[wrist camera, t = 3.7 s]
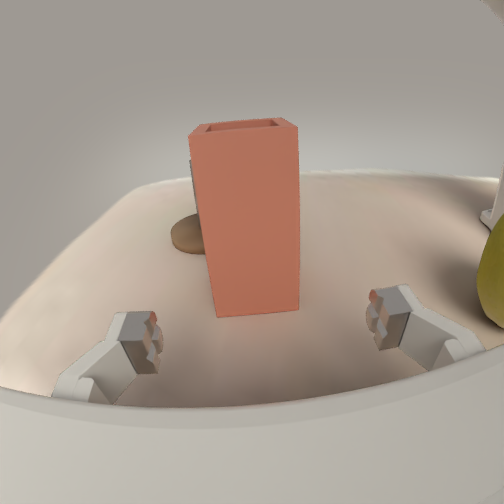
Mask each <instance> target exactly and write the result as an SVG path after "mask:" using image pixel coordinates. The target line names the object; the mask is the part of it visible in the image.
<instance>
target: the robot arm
mask: <svg viewBox="0 0 504 504" xmlns="http://www.w3.org/2000/svg"><path fill="white" fill-rule="evenodd" d="M480 1H482V2H483V3H484V4H485V5H486V6H488V7H489V8H490V9H491V10H492V11H493V12H494V14H495V15H496V16H497V17H498V18H499V19H500V21H501V22H502V24H503V25H504V0H480ZM503 214H504V163H503V166H502V170H501V175H500V180H499V184H498V189H497V193H496V197H495V201H494V205H493V208H492V209H488V210H484V211H482V213H481V216H480V219H481V221H482V222H483V223H484V224H486V225H487V226H488V227H489V228H490V230H491V231H492V229H493V227H494V226H495V224H496V223H497V221H498V220H499V218H500V217H501V216H502V215H503ZM369 300H370V301H371V303H370V304H369V306H368V307H367V310H366V321H367V325H368V328H369V330H370V331H372V332H373V333H375V335H374V340H375V342H376V345H377V347H378V349H379V351H380V350H386V349H391V348H396V347H399V349H401V350H402V351H403V352H404V353H406V354H407V355H408V356H410V357H411V358H412V359H413V360H415V361H416V362H417V363H419V364H420V365H421V366H422V367H424V368H425V369H426V370H428V372H425V373H421V374H418V375H415V376H411V377H407V378H404V379H400V380H396V381H392V382H388V383H384V384H380V385H376V386H372V387H367V388H363V389H358V390H353V391H348V392H343V393H338V394H332V395H326V396H320V397H314V398H307V399H300V400H293V401H285V402H276V403H267V404H256V405H244V406H228V407H203V408H159V407H135V406H120V405H113V403H114V402H115V401H116V400H117V399H118V397H119V396H120V395H121V394H122V393H123V392H124V390H125V389H126V388H127V387H128V386H129V384H130V383H131V382H132V381H133V380H134V379H135V377H136V376H137V374H158V370H159V365H160V358H159V356H158V355H159V354H160V353H161V352H162V349H163V335H162V331H161V328H160V327H159V326H157V325H156V322H157V317H156V315H155V312H153V311H138V312H117V313H116V314H115V315H114V318H113V320H112V323H111V325H110V327H109V330H108V332H107V335H106V337H105V340H104V341H100V342H99V343H98V344H97V345H95V346H94V347H93V348H92V349H90V350H89V351H88V352H87V353H86V354H84V355H83V356H82V357H81V358H79V359H78V360H77V361H76V362H74V363H73V364H72V365H71V366H70V367H68V368H67V369H66V370H65V371H63V372H62V373H61V374H60V376H59V378H58V381H57V383H56V386H55V388H54V391H53V393H52V396H51V397H47V396H42V395H37V394H31V393H27V392H22V391H17V390H13V389H9V388H5V387H1V386H0V504H504V344H502V345H500V346H497V347H495V348H492V349H490V350H488V351H486V349H485V348H484V346H483V345H482V343H481V342H480V341H479V339H478V338H477V336H476V335H475V333H474V332H473V331H471V330H469V329H467V328H465V327H463V326H461V325H460V324H458V323H456V322H454V321H452V320H450V319H448V318H446V317H444V316H442V315H440V314H438V313H436V312H434V311H432V310H430V309H428V308H427V309H425V308H424V307H423V305H422V304H421V302H420V301H419V300H418V298H417V297H416V296H415V294H414V293H413V291H412V290H411V289H410V287H409V286H408V285H407V284H402V285H396V286H392V287H386V288H380V289H373V290H371V292H370V295H369Z"/></svg>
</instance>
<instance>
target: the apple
mask: <svg viewBox="0 0 504 504" xmlns="http://www.w3.org/2000/svg"><path fill="white" fill-rule="evenodd" d="M477 291H478V295H479V299H480V302H481V305H482V308H483V310H484V312H485V314H486V315H487V317H489V318H490V319H491V320H493V321H494V322H495V323H496V324H497V325H498V326H500V327H502V328H504V214H503V215H502V216H501V217H500V218H499V220H498V221H497V223H496V224H495V226H494V227H493V229H492V231H491V233H490V235H489V238H488V240H487V242H486V245H485V248H484V251H483V254H482V258H481V261H480V264H479V268H478V272H477Z"/></svg>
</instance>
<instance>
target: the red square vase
mask: <svg viewBox="0 0 504 504" xmlns="http://www.w3.org/2000/svg"><path fill="white" fill-rule="evenodd" d="M188 139H189V147H190V154H191V162H192V169H193V177H194V184H195V191H196V197H197V204H198V211H199V217H200V223H201V230H202V236H203V242H204V248H205V254H206V260H207V266H208V271H209V277H210V283H211V288H212V293H213V299H214V304H215V309H216V315H217V317H229V316H241V315H253V314H263V313H274V312H283V311H293V310H299V270H300V196H299V151H298V127H297V126H295V125H293V124H291V123H290V122H288V121H287V120H285V119H283V118H267V119H252V120H240V121H239V120H238V121H228V122H218V123H210V124H201V125H199V126H198V127H197V128H196V129H195V130H194V131H193V132H192V133H191V134H190V135H189V136H188Z"/></svg>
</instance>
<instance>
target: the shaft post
mask: <svg viewBox="0 0 504 504" xmlns="http://www.w3.org/2000/svg"><path fill="white" fill-rule="evenodd" d="M190 168H191V175H192V182H193V189H194V196H195V203H196V209H197V214H194V215H191V216H188V217H186V218H184V219H182V220H180V221H179V222H177V223H176V224H175V225H174V226H173V227H172V229H171V237H172V242H173V245H174V246H175V247H176V248H177V249H178V250H180V251H183V252H186V253H191V254H205V248H204V242H203V236H202V230H201V223H200V217H199V211H198V204H197V197H196V191H195V184H194V177H193V169H192V162H191V160H190Z"/></svg>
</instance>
